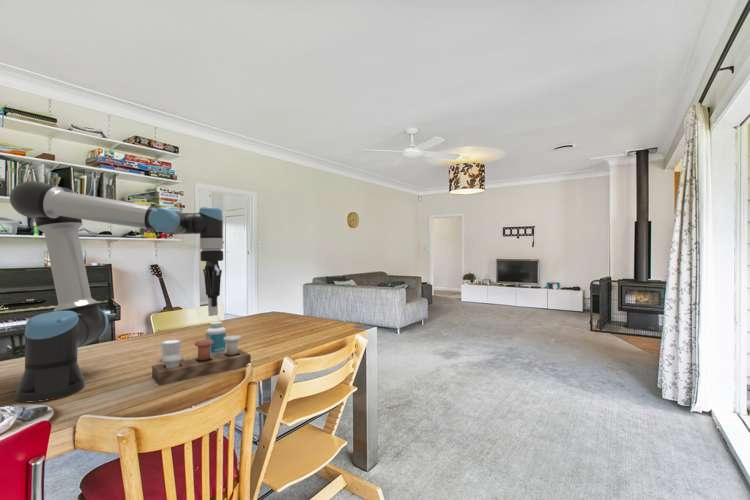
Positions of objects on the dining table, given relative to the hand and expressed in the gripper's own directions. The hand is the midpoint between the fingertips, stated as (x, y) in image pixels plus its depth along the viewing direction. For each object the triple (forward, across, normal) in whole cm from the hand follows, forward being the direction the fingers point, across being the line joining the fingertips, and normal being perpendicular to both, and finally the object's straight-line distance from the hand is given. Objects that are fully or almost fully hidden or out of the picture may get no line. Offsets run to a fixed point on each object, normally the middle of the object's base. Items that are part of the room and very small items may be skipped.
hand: (213, 315), depth 127 cm
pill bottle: (+20, +18, -6) cm, 28 cm away
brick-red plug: (+15, +1, +3) cm, 15 cm away
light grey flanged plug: (+19, +24, +9) cm, 32 cm away
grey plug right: (+15, +1, -7) cm, 17 cm away
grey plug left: (+19, +1, +13) cm, 23 cm away
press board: (+20, +1, +3) cm, 20 cm away
